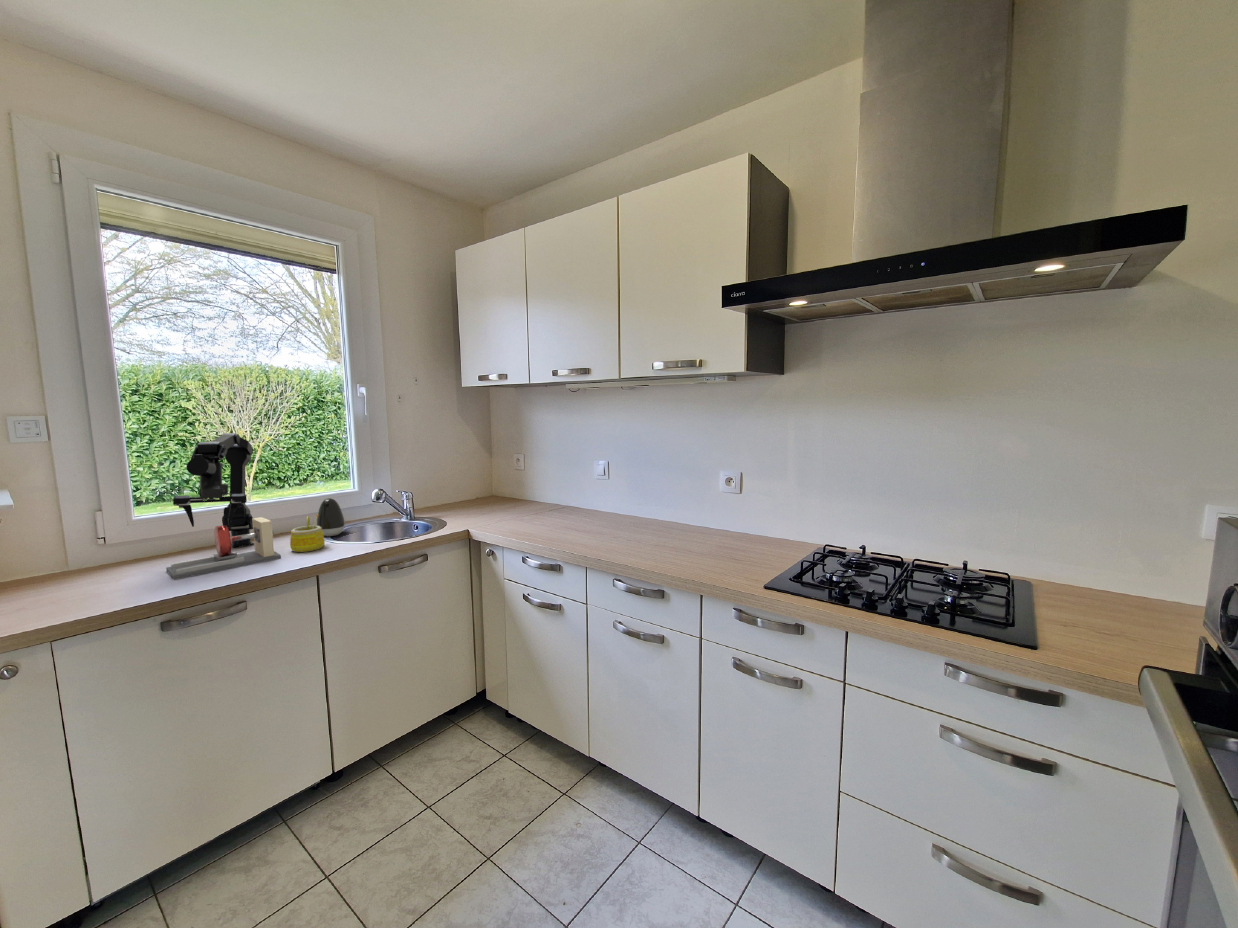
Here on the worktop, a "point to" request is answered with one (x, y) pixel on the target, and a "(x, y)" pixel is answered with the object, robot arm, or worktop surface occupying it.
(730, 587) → the worktop surface
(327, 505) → the dark grey tall dome
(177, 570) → the block
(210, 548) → the worktop surface
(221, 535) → the red wheel on axle
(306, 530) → the yellow birthday cake
